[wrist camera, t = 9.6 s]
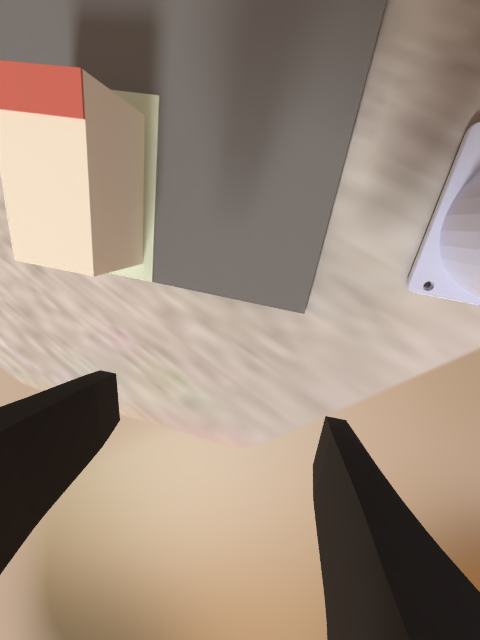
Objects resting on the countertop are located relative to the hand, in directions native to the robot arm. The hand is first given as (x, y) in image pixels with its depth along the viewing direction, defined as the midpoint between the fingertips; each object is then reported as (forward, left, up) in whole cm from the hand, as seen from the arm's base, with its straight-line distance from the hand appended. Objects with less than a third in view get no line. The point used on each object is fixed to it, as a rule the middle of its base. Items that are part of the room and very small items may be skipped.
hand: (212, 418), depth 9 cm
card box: (+10, -7, -9) cm, 15 cm away
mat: (+7, -9, -9) cm, 15 cm away
